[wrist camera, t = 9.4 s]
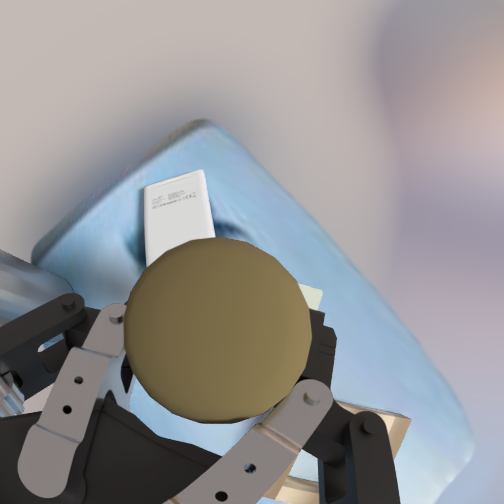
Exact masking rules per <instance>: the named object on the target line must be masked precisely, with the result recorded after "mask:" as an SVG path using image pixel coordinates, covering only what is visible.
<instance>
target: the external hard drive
mask: <svg viewBox="0 0 504 504" xmlns="http://www.w3.org/2000/svg"><path fill="white" fill-rule="evenodd" d="M144 226H145V250H146V265H147V267H148V266H149V265H150V264H151V263H153V262H154V261H155V260H156V259H157V258H158V257H160V256H161V255H162V254H163V253H164V252H165V251H167V250H169V249H172V248H174V247H176V246H178V245H181V244H183V243H185V242H188V241H190V240H195V239H203V238H212V237H215V231H214V226H213V220H212V214H211V209H210V203H209V197H208V191H207V185H206V178H205V174H204V171H203V170H197V171H193V172H190V173H187V174H183V175H180V176H177V177H174V178H170V179H167V180H164V181H161V182H158V183H155V184H152V185H149V186H146V187H145V188H144Z"/></svg>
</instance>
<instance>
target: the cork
mask: <svg viewBox="0 0 504 504" xmlns="http://www.w3.org/2000/svg"><path fill="white" fill-rule="evenodd" d="M123 330H124V348H125V351H126V354H127V357H128V360H129V363H130V366H131V369H132V372H133V374H134V375H135V377H136V378H137V380H138V381H139V382H140V384H141V385H142V387H143V388H144V389H145V391H146V392H147V393H148V395H149V396H150V397H151V398H152V399H154V400H155V401H156V402H158V403H159V404H160V405H162V406H163V407H164V408H166V409H167V410H168V411H170V412H171V413H173V414H175V415H178V416H180V417H183V418H186V419H189V420H192V421H195V422H198V423H202V424H232V423H237V422H240V421H243V420H246V419H249V418H252V417H255V416H257V415H260V414H263V413H265V412H266V411H268V410H269V409H270V408H272V407H273V406H274V405H275V404H277V403H278V402H279V401H281V400H282V399H283V398H284V397H285V396H287V395H288V394H289V393H290V391H291V390H292V388H293V387H294V385H295V383H296V382H297V380H298V379H299V377H300V375H301V374H302V372H303V371H304V369H305V367H306V362H307V358H308V354H309V349H310V345H311V341H312V332H311V322H310V313H309V307H308V305H307V302H306V300H305V298H304V296H303V294H302V292H301V289H300V287H299V285H298V283H297V281H296V279H295V278H294V277H293V276H292V275H291V274H290V273H289V272H288V271H287V270H286V269H285V268H284V267H283V266H282V265H281V263H280V262H279V261H278V260H277V259H276V258H274V257H273V256H271V255H270V254H268V253H266V252H264V251H262V250H260V249H259V248H257V247H255V246H253V245H251V244H249V243H248V242H244V241H239V240H233V239H228V238H223V237H212V238H203V239H195V240H190V241H188V242H185V243H183V244H181V245H178V246H176V247H174V248H172V249H169V250H167V251H165V252H164V253H163V254H162V255H161V256H160V257H158V258H157V259H156V260H155V261H154V262H153V263H151V264H150V265H149V266H148V267H147V268H146V269H145V270H144V272H143V273H142V275H141V276H140V278H139V280H138V281H137V283H136V284H135V286H134V287H133V289H132V291H131V292H130V296H129V299H128V303H127V306H126V310H125V313H124V317H123Z"/></svg>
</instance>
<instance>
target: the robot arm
mask: <svg viewBox="0 0 504 504" xmlns="http://www.w3.org/2000/svg"><path fill="white" fill-rule="evenodd" d="M127 303H128V301H127V302H126V303H125V304H124V305H123V304H111V305H108V306H106V307H104V308H103V309H102V310H98V309H93V308H89V307H85V303H84V299H83V298H82V297H81V296H80V295H78V294H75V293H73V290H72V288H71V286H70V284H69V283H68V282H67V281H66V280H65V279H63V278H61V277H59V276H56V275H54V274H52V273H49V272H47V271H45V270H43V269H41V268H38V267H36V266H34V265H32V264H30V263H28V262H25V261H23V260H21V259H19V258H17V257H15V256H13V255H11V254H9V253H7V252H5V251H3V250H1V249H0V504H256V503H257V502H258V501H259V500H260V498H261V497H262V496H263V495H264V494H265V493H266V492H267V491H268V490H269V489H270V488H271V486H272V485H273V484H274V483H275V482H276V481H277V480H278V478H279V477H280V476H281V475H282V474H283V473H284V471H285V470H286V469H287V468H288V466H289V465H290V464H291V463H292V462H293V460H294V459H295V458H296V456H297V455H298V454H299V452H300V451H301V449H303V450H304V451H306V452H308V453H309V454H311V455H313V456H315V457H316V458H318V479H319V504H400V497H399V490H398V483H397V477H396V472H395V466H394V460H393V455H392V450H391V445H390V440H389V436H388V431H387V427H386V424H385V422H384V420H383V419H382V418H381V417H380V416H379V415H378V414H376V413H374V412H371V411H361V412H358V413H357V414H353V413H351V412H350V411H348V410H346V409H344V408H343V407H341V406H340V405H339V404H338V403H337V402H336V401H335V400H334V398H333V395H332V392H331V390H330V386H331V379H332V372H333V365H334V356H335V348H336V341H337V337H336V335H335V332H334V330H333V328H330V327H327V326H324V325H323V323H324V317H325V313H323V312H320V311H317V310H314V309H311V308H309V313H310V322H311V332H312V341H311V345H310V349H309V354H308V358H307V362H306V367H305V369H304V371H303V372H302V374H301V375H300V377H299V379H298V380H297V382H296V383H295V385H294V387H293V388H292V390H291V391H290V393H289V394H288V395H287V396H285V397H284V398H283V399H282V400H281V401H279V402H278V403H277V404H275V405H274V407H273V408H275V409H274V410H273V411H272V412H271V413H270V414H269V415H268V417H267V418H266V419H265V420H264V421H263V422H261V423H258V424H257V425H255V426H254V427H253V428H252V429H251V430H250V431H249V432H248V433H247V434H246V435H245V436H244V437H243V438H242V439H241V440H240V441H239V442H238V443H237V444H236V445H235V446H234V447H232V448H231V449H230V450H229V451H228V452H227V453H226V454H225V455H224V456H223V457H222V456H220V455H217V454H215V453H212V452H210V451H207V450H205V449H202V448H200V447H198V446H195V445H193V444H189V443H185V442H180V441H176V440H171V439H167V438H163V437H160V436H158V435H156V434H155V433H154V432H153V431H152V430H151V429H149V428H148V427H147V426H146V425H145V424H144V423H143V422H142V421H141V420H140V419H138V418H137V417H136V416H135V415H134V414H132V413H131V412H130V398H131V394H132V390H133V387H134V383H135V380H136V377H135V375H134V374H133V372H132V369H131V366H130V363H129V360H128V357H127V354H126V351H125V348H124V330H123V317H124V313H125V310H126V306H127ZM63 338H64V339H63ZM61 339H62V340H61ZM60 340H61V341H60ZM47 341H53V342H56V341H59V342H57V343H55V344H54V345H52V346H50V347H49V348H47V349H45V350H43V351H42V352H38V348H39V347H40V346H41V345H42V344H43V343H45V342H47ZM54 382H55V383H54ZM52 383H54V386H53V388H52V390H51V392H50V395H49V397H48V399H47V402H46V404H45V407H44V409H43V411H39V412H33V413H28V414H23V412H24V406H23V403H24V401H25V400H27V399H29V398H30V397H32V396H33V395H35V394H36V393H38V392H40V391H41V390H43V389H44V388H46V387H48V386H49V385H51V384H52ZM15 414H17V415H15Z"/></svg>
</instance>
